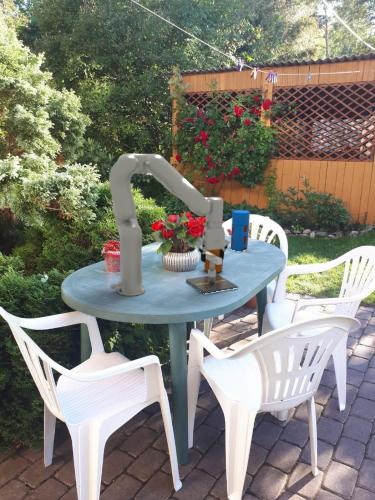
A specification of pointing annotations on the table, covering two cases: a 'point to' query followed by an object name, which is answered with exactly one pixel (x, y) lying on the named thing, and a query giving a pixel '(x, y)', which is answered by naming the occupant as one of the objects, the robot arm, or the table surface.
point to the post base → (209, 286)
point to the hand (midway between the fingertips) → (212, 260)
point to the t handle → (213, 259)
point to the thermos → (240, 230)
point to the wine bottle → (217, 267)
